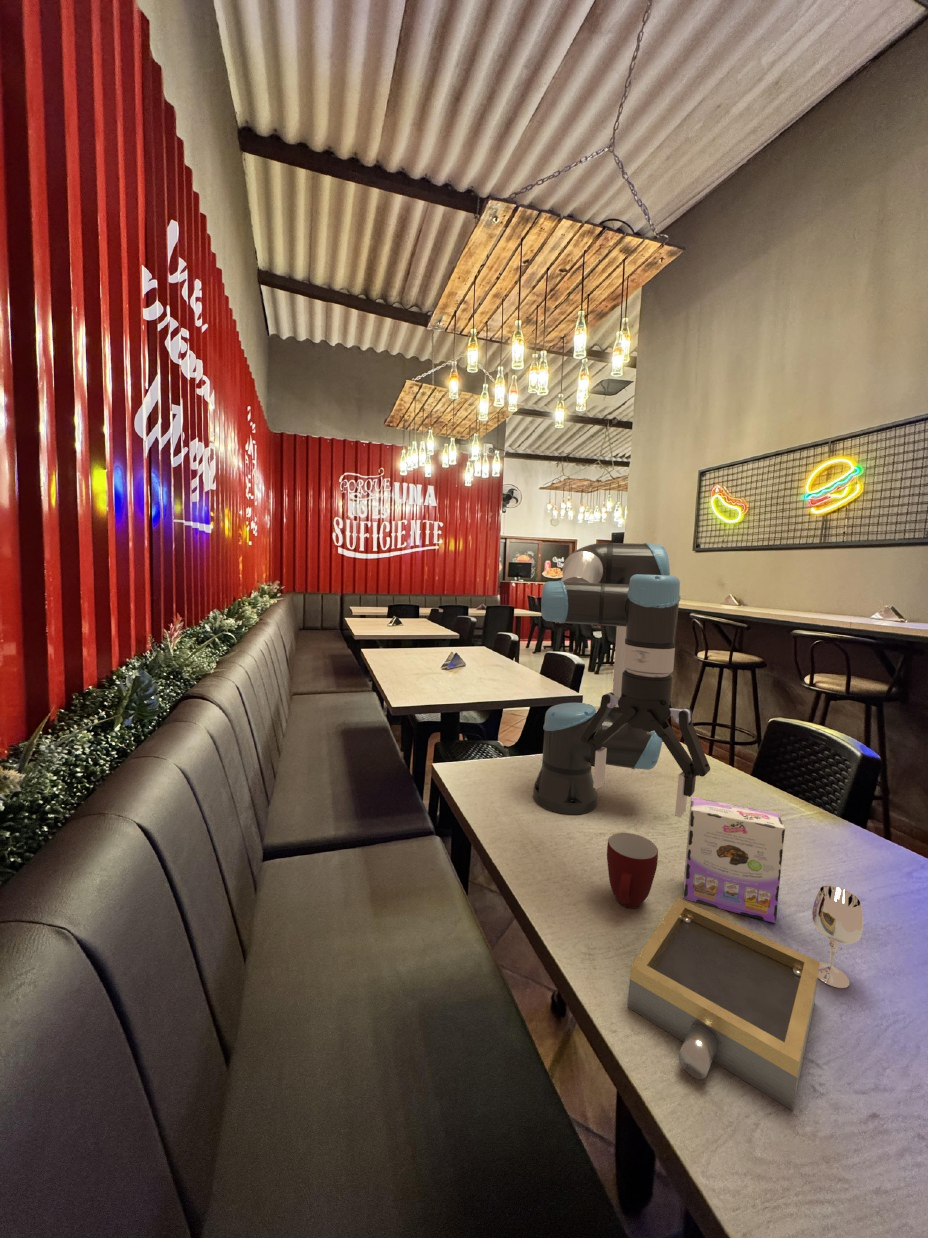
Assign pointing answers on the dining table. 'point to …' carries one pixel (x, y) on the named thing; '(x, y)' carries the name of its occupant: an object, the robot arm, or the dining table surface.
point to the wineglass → (836, 927)
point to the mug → (631, 867)
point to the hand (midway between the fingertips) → (637, 799)
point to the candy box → (734, 858)
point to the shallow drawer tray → (727, 998)
